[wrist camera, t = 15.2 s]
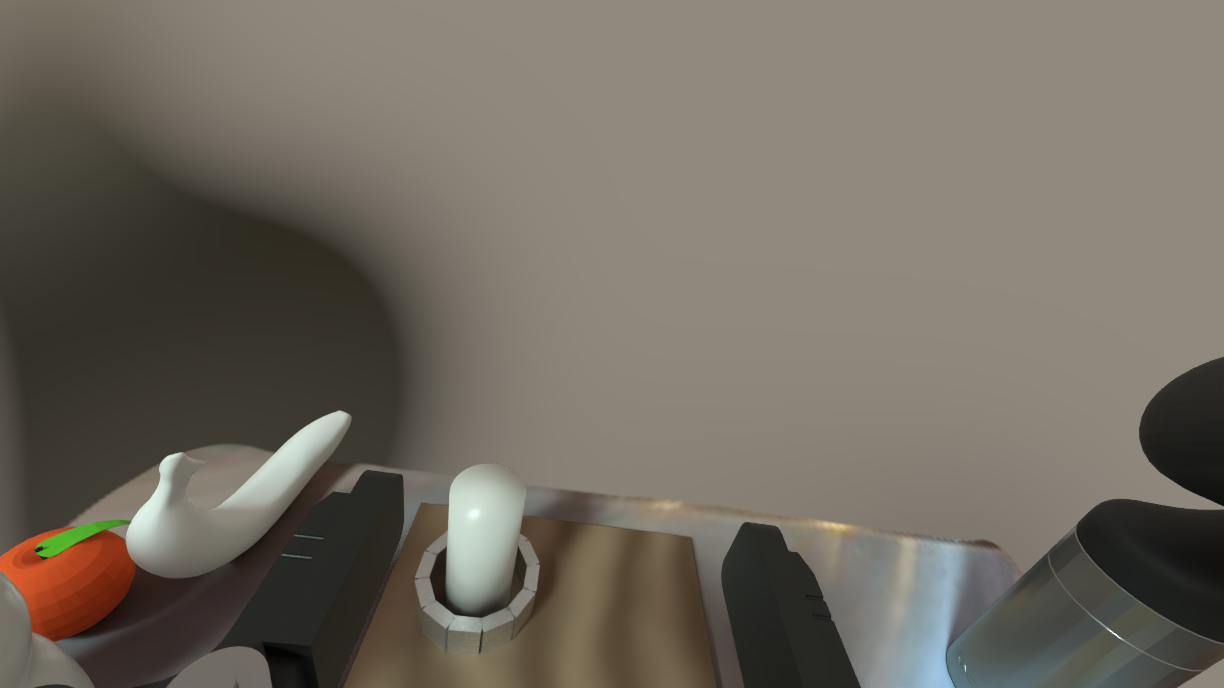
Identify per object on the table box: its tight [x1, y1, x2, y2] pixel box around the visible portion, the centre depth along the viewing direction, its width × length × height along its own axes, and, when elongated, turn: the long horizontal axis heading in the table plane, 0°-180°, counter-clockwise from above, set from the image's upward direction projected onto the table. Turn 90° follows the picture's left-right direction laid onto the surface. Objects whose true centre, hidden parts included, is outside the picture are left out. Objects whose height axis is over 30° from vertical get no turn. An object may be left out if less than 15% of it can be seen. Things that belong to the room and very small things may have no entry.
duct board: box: [343, 503, 717, 688], centre depth 39 cm, size 26×16×2 cm, turn 91°
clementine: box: [0, 520, 136, 642], centre depth 31 cm, size 8×7×7 cm
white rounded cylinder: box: [445, 463, 526, 618], centre depth 35 cm, size 5×5×12 cm
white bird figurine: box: [126, 411, 352, 578], centre depth 38 cm, size 5×19×15 cm, turn 176°
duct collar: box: [414, 530, 540, 656], centre depth 37 cm, size 9×9×3 cm
